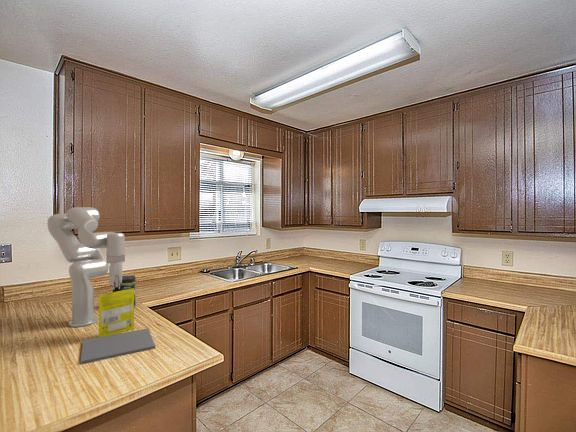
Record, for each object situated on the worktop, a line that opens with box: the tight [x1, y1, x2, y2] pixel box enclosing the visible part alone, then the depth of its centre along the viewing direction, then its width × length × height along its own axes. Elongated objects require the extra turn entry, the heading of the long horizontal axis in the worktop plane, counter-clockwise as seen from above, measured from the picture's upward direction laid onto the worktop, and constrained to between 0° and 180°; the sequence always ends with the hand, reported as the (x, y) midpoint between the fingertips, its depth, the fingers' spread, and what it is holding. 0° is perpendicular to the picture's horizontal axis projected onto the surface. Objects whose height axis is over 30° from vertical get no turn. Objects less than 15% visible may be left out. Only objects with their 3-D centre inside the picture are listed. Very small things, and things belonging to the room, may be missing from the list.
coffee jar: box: [120, 274, 137, 307], centre depth 183 cm, size 10×8×19 cm
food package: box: [98, 288, 135, 337], centre depth 144 cm, size 15×1×20 cm, turn 141°
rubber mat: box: [80, 328, 156, 365], centre depth 132 cm, size 22×26×1 cm
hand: (116, 297), depth 146 cm, fingers closed
